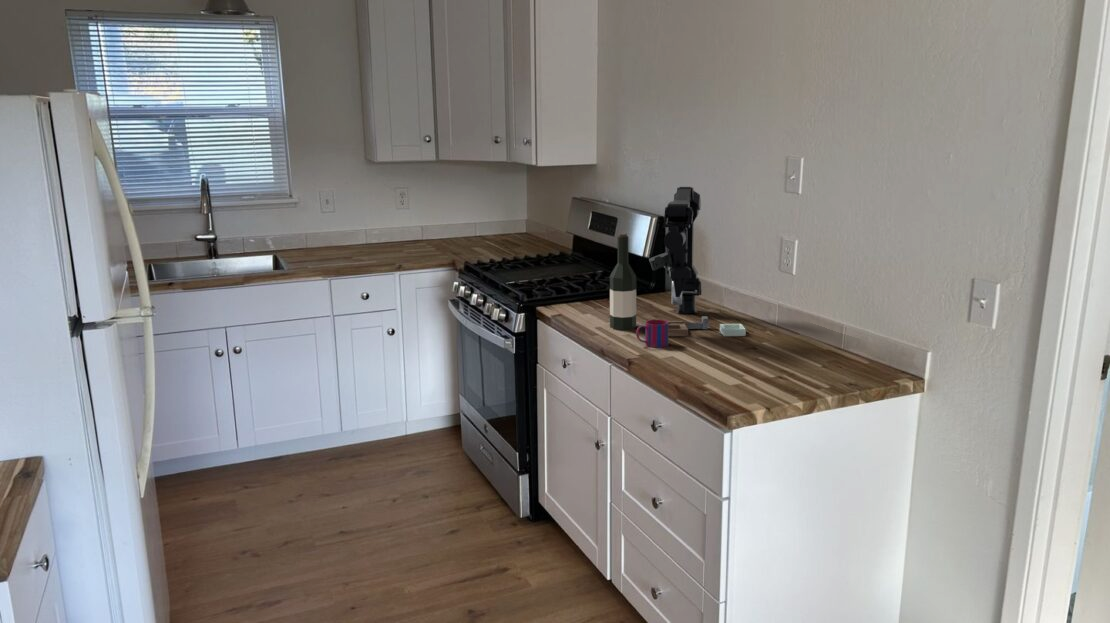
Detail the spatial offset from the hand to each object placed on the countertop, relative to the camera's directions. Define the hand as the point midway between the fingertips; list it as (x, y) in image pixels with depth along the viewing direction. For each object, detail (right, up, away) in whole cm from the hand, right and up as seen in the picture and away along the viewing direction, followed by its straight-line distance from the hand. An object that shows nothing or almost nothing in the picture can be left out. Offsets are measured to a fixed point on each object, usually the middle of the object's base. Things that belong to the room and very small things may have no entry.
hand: (676, 295), depth 250 cm
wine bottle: (-16, -10, +11) cm, 22 cm away
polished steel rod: (0, -2, +1) cm, 2 cm away
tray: (+17, -12, +2) cm, 21 cm away
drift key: (+4, -10, +8) cm, 13 cm away
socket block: (-1, -11, +5) cm, 12 cm away
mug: (-9, -15, -9) cm, 20 cm away
